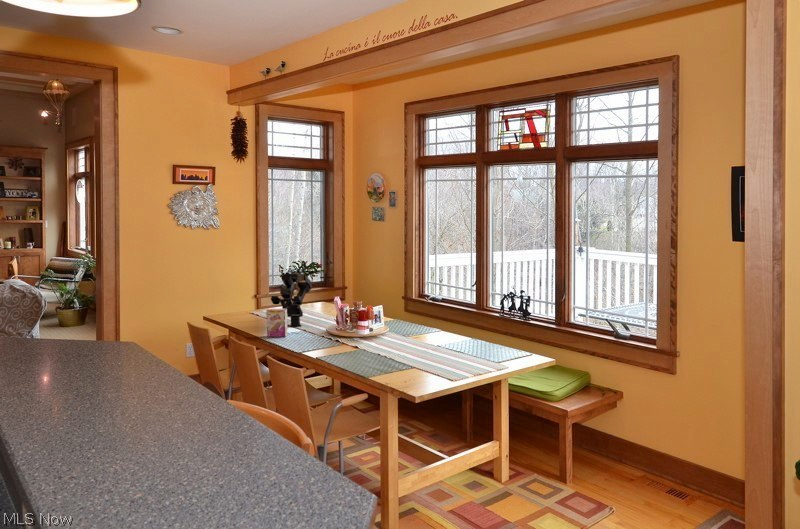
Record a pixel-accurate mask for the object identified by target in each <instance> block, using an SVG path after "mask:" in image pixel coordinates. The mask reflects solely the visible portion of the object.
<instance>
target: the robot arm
mask: <svg viewBox="0 0 800 529" xmlns="http://www.w3.org/2000/svg"><path fill="white" fill-rule="evenodd" d="M281 281H282V283H283V285H284V286H285V287H284V288H283V287H282V288H280V291H279V294H280V296H281V297H279V296H278V295H271V297H270V301H271V302H272V304H273V305H281V309H287V318H290V324H289V327H291V328H294V327H295V328H296V327H302V324H301V317H303V315H304V314H303V310H302V308H301V306H302V305H303V300H304V298H305V296H306V294H308V293H309V292H311V290H312V288H313V285H312V280H310V278H309V277H308V276H307V274H306V273H305V274H302V273H301V274H300V273H290V272H288V271H286V272H285V273H284V274H283V275H281ZM296 284H297V287H298V291H297V294H296V295H294V293H295V290H297V289H296V288H297V287H296Z"/></svg>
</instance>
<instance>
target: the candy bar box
mask: <svg viewBox="0 0 800 529" xmlns="http://www.w3.org/2000/svg"><path fill="white" fill-rule="evenodd" d="M288 334H289V333H288V316H287V309H283V308H268V309H266V336H267V338H286V337H288Z"/></svg>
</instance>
